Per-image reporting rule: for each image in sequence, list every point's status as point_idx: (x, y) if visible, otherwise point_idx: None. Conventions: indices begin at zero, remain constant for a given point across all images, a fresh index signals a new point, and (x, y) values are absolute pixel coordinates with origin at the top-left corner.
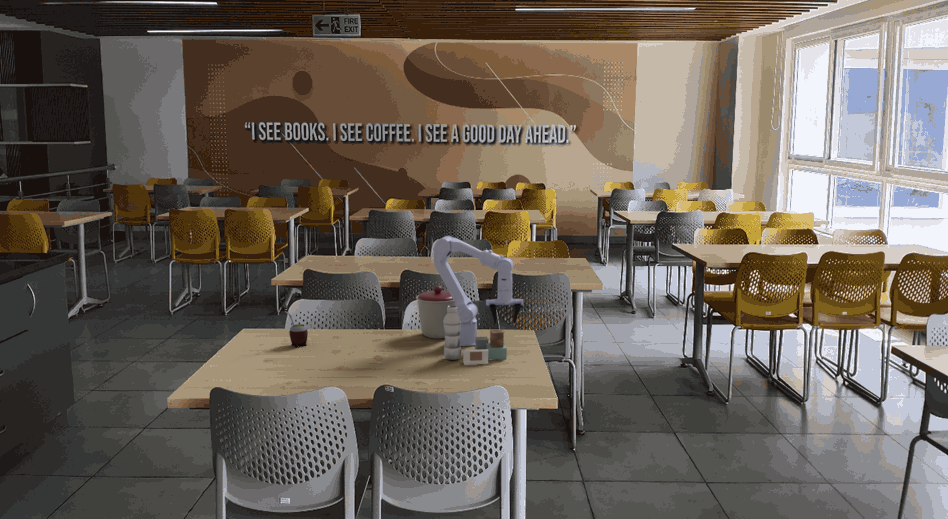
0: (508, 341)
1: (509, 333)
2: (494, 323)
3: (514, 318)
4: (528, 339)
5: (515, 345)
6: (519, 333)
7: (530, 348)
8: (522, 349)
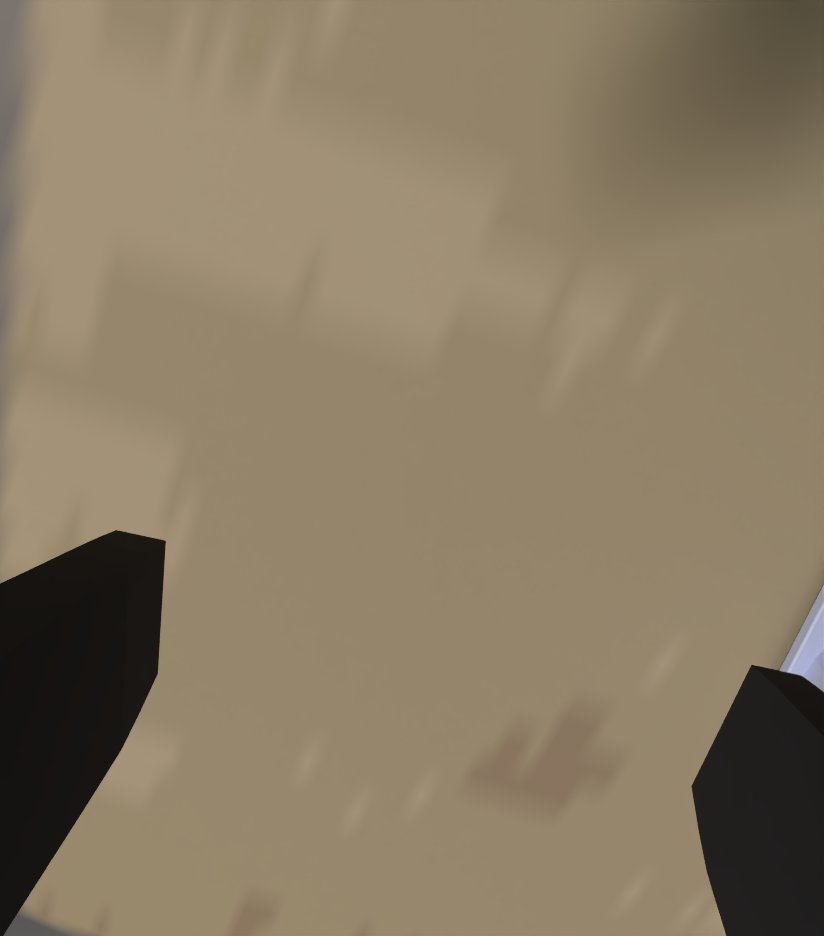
0: (315, 594)
1: (199, 860)
2: (806, 685)
3: (61, 605)
4: None
5: (275, 381)
6: (79, 826)
7: (69, 128)
8: (225, 111)
